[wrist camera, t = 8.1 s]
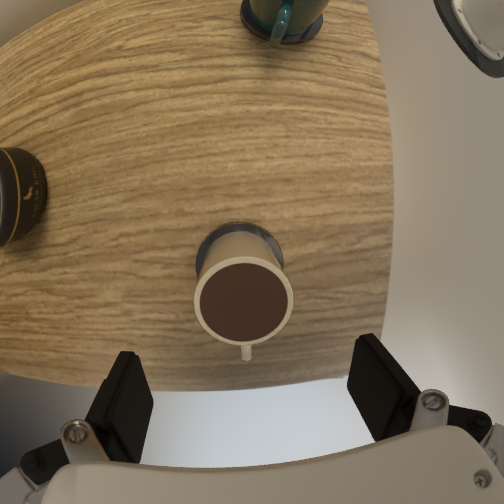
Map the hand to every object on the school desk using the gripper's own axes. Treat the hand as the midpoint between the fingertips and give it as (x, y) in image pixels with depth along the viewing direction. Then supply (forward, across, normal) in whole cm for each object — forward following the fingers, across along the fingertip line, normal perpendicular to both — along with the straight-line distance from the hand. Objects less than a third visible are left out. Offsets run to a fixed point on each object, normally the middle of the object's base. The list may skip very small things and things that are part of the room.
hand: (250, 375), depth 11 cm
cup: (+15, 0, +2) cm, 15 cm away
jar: (+16, +24, -9) cm, 30 cm away
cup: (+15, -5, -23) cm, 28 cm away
